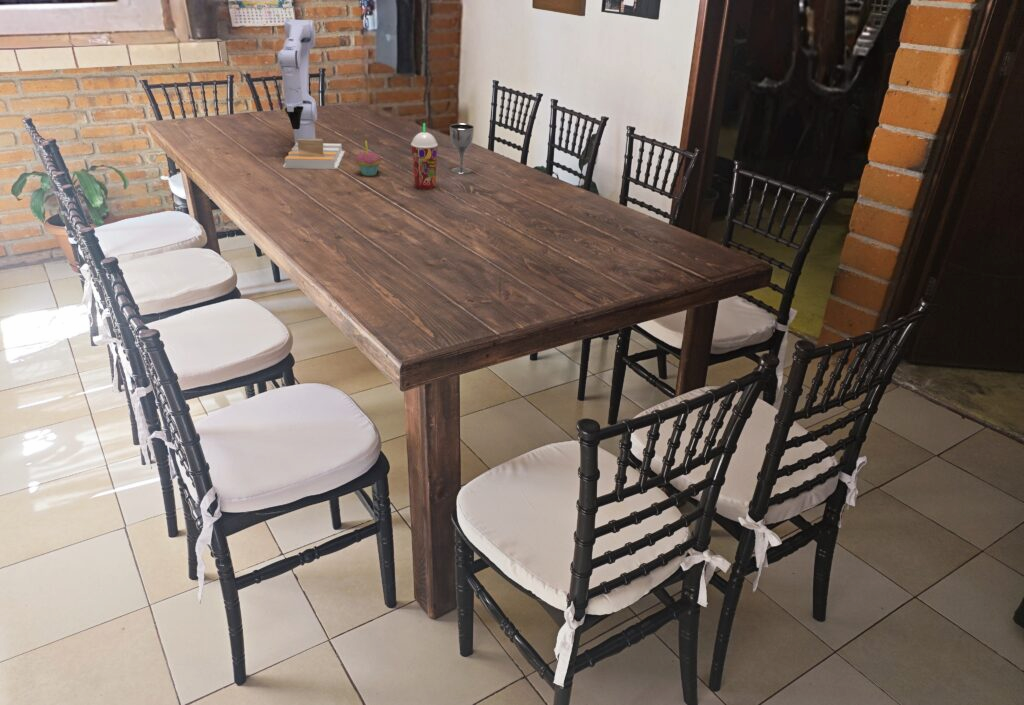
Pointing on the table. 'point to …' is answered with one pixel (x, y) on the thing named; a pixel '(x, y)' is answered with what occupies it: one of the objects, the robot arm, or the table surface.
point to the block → (311, 147)
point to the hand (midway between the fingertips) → (296, 128)
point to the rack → (315, 158)
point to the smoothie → (424, 159)
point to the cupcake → (368, 162)
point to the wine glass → (461, 142)
